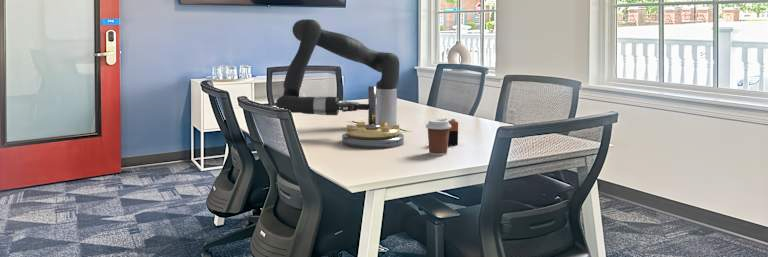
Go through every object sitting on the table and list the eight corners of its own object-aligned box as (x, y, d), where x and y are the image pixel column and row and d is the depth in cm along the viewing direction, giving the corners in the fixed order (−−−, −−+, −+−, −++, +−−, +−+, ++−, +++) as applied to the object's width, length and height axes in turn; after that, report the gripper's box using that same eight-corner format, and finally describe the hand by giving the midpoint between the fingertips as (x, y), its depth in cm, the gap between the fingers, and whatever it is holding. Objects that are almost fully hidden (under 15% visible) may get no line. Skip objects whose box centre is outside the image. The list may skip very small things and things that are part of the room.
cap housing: (331, 141, 253) (331, 133, 253) (382, 135, 266) (382, 128, 266) (362, 151, 233) (362, 143, 233) (415, 144, 246) (415, 137, 246)
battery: (438, 143, 249) (438, 118, 247) (455, 143, 250) (455, 118, 248) (440, 145, 245) (441, 119, 243) (458, 145, 245) (458, 119, 244)
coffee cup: (449, 151, 234) (449, 118, 232) (452, 156, 225) (453, 122, 223) (424, 151, 234) (424, 118, 232) (426, 156, 225) (427, 122, 223)
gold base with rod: (340, 131, 256) (339, 86, 253) (389, 129, 262) (390, 85, 259) (354, 140, 236) (353, 92, 233) (407, 137, 243) (407, 90, 240)
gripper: (322, 98, 252) (366, 99, 250) (329, 94, 265) (371, 95, 263) (322, 117, 253) (366, 118, 251) (329, 112, 266) (370, 114, 264)
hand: (368, 107), depth 257 cm, fingers closed
